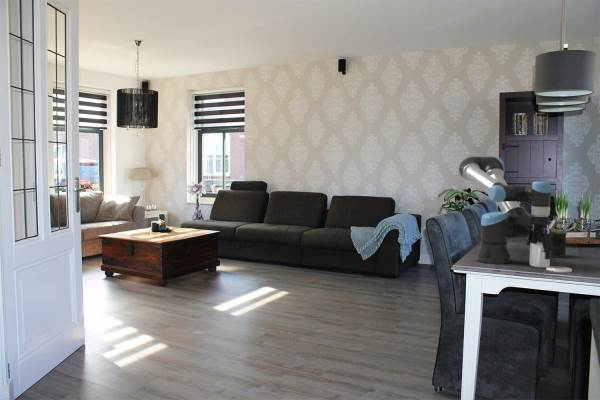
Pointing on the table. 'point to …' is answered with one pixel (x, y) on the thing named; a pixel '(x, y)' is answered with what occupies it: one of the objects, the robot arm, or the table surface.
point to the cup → (536, 254)
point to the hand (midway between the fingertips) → (539, 264)
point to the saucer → (559, 269)
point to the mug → (558, 244)
